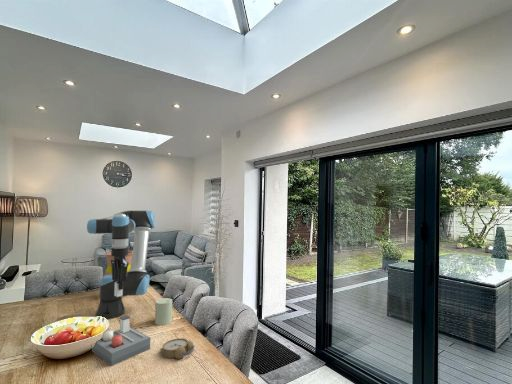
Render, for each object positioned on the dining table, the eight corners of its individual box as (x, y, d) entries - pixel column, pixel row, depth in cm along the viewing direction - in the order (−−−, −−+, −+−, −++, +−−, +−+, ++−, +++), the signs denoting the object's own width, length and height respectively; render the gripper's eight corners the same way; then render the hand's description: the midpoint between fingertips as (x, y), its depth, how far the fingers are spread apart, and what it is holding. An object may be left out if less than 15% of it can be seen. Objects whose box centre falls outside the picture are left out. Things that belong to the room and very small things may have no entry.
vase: (94, 298, 191) (96, 254, 192) (115, 289, 212) (117, 249, 214) (123, 300, 187) (124, 255, 189) (141, 290, 209) (143, 250, 210)
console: (91, 350, 122) (91, 337, 122) (128, 336, 136) (129, 324, 136) (111, 365, 111) (112, 351, 111) (150, 348, 124) (150, 336, 124)
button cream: (101, 341, 122) (101, 332, 122) (110, 338, 125) (110, 329, 126) (105, 344, 120) (105, 334, 120) (114, 340, 123) (114, 331, 123)
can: (166, 326, 148) (167, 303, 148) (151, 324, 150) (151, 302, 150) (175, 319, 157) (175, 297, 157) (160, 317, 159) (160, 296, 159)
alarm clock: (174, 336, 130) (199, 338, 123) (176, 347, 129) (200, 349, 122) (156, 347, 120) (181, 349, 113) (157, 359, 119) (183, 362, 113)
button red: (109, 347, 117) (109, 337, 118) (119, 343, 121) (119, 334, 121) (114, 350, 115) (114, 340, 115) (123, 346, 118) (123, 336, 118)
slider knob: (119, 331, 129) (120, 317, 130) (126, 329, 132) (126, 315, 132) (122, 333, 127) (123, 318, 128) (129, 331, 130) (130, 316, 130)
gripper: (105, 246, 137) (103, 294, 136) (119, 249, 129) (117, 300, 127) (120, 245, 143) (118, 291, 142) (134, 247, 134) (133, 296, 133)
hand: (118, 295), depth 135 cm, fingers closed
